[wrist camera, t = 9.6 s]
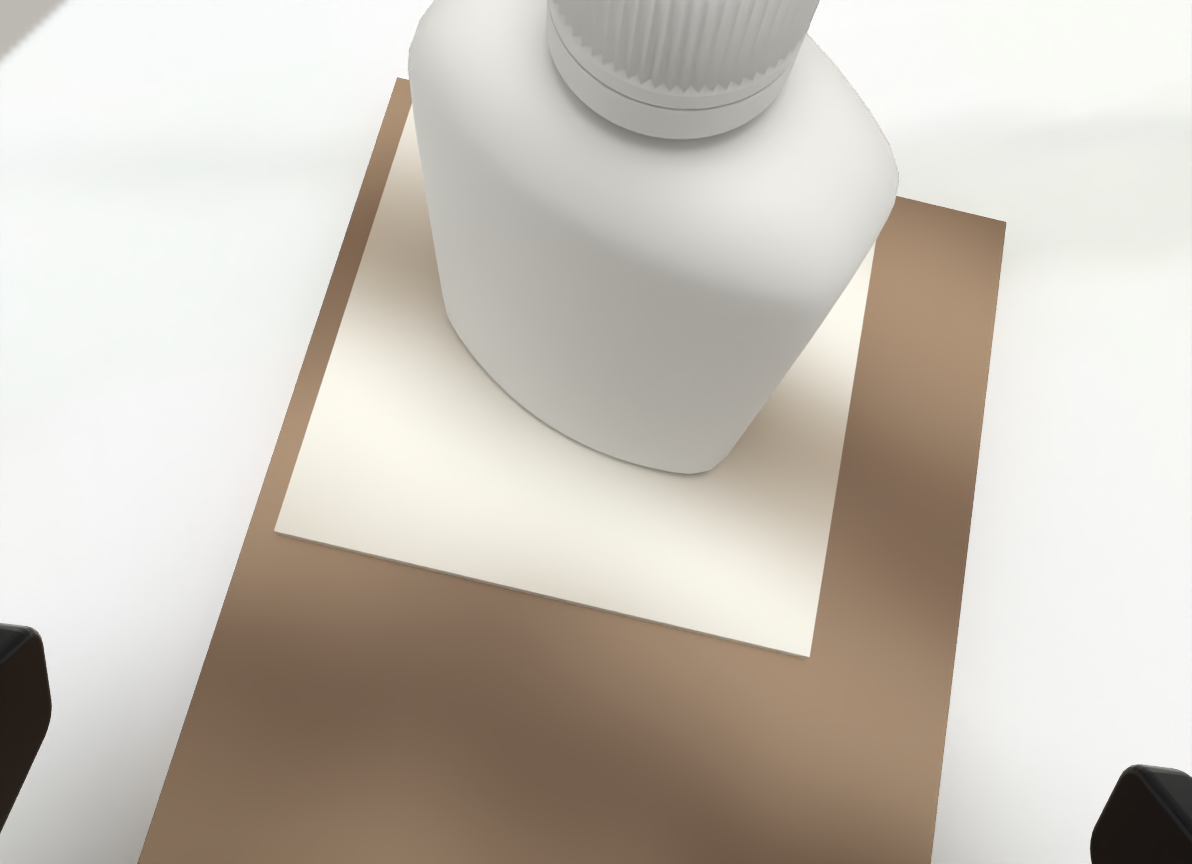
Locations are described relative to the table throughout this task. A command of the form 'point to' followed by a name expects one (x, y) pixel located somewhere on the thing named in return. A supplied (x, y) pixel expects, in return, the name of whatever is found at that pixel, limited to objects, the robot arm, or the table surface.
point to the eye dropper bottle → (642, 206)
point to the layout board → (593, 591)
